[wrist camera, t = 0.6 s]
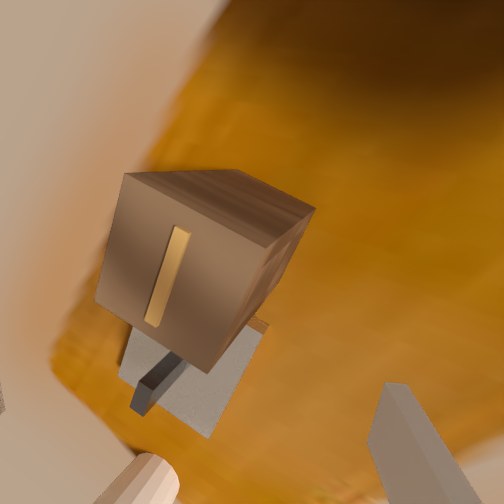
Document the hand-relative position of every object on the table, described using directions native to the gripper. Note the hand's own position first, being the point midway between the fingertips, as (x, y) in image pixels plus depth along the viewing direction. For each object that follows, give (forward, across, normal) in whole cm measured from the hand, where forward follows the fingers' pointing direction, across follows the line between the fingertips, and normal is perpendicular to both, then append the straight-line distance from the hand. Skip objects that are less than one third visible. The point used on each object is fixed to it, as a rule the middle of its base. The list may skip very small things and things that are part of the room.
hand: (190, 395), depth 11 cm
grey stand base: (+14, -2, -9) cm, 17 cm away
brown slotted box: (+13, +2, +3) cm, 13 cm away
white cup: (+15, -5, -26) cm, 30 cm away
